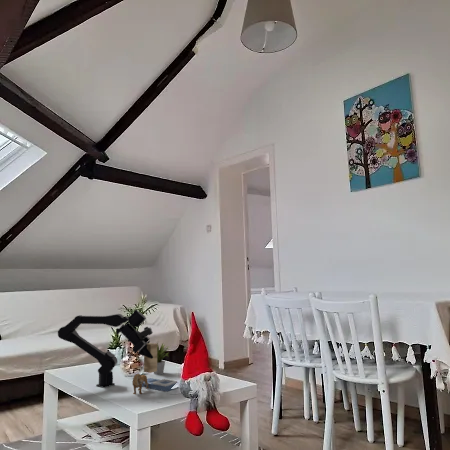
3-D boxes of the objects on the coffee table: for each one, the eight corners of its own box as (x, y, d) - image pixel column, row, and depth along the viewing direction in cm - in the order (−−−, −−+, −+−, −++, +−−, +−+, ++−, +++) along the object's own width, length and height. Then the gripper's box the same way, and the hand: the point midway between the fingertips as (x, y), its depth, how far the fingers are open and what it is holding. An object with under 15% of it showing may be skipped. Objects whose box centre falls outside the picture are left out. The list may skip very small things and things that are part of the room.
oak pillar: (143, 371, 195) (144, 344, 197) (150, 370, 199) (150, 343, 201) (150, 372, 193) (150, 344, 195) (157, 371, 196) (157, 343, 198)
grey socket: (152, 384, 187) (152, 382, 187) (164, 380, 194) (164, 378, 194) (165, 386, 182) (165, 384, 183) (177, 382, 189) (177, 380, 189)
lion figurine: (142, 396, 174) (142, 374, 176) (130, 396, 175) (130, 374, 176) (149, 387, 189) (150, 367, 190) (138, 387, 189) (138, 367, 190)
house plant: (170, 376, 210) (170, 344, 213) (143, 377, 210) (144, 344, 212) (173, 370, 224) (173, 340, 227) (148, 371, 224) (149, 341, 227)
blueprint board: (137, 386, 192) (137, 381, 192) (149, 382, 199) (149, 377, 199) (166, 391, 181) (166, 386, 182) (179, 387, 188) (179, 382, 189)
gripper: (139, 323, 190) (163, 347, 189) (145, 320, 208) (167, 341, 207) (122, 341, 188) (146, 365, 187) (130, 336, 207) (151, 357, 206)
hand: (153, 356), depth 197 cm, fingers closed on oak pillar, 6 cm apart
